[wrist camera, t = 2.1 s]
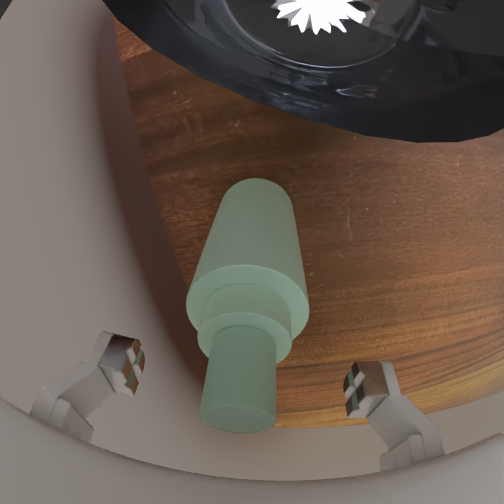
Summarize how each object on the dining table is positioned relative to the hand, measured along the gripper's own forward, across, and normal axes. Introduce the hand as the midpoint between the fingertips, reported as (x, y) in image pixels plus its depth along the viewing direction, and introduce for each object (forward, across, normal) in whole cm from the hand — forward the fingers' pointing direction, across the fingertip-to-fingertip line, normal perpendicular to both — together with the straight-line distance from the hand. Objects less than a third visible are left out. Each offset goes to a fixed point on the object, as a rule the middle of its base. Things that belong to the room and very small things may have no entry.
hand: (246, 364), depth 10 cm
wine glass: (+12, -1, -12) cm, 18 cm away
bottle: (+12, 0, 0) cm, 12 cm away
